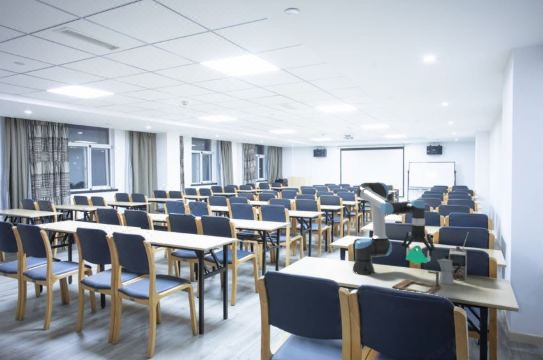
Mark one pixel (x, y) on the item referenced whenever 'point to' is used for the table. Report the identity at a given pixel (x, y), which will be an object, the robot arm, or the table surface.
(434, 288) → the open wooden square frame
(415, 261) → the camera mount
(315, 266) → the table surface
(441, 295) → the table surface
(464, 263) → the portable television
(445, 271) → the coffee maker
